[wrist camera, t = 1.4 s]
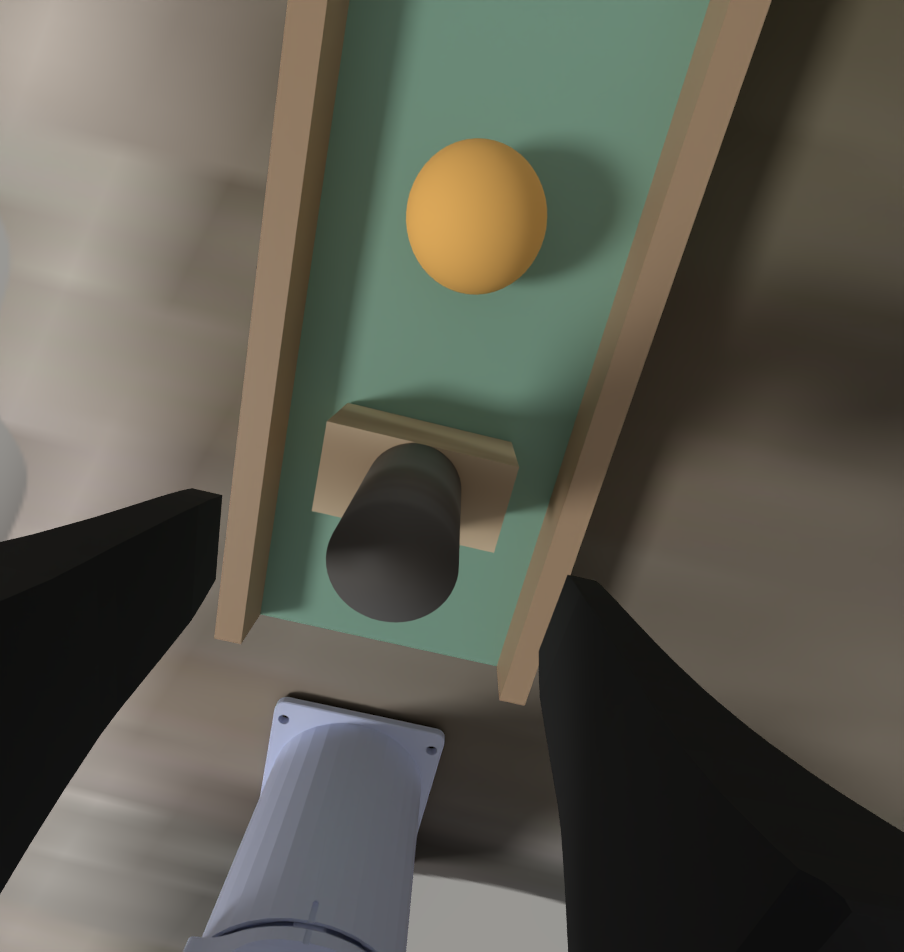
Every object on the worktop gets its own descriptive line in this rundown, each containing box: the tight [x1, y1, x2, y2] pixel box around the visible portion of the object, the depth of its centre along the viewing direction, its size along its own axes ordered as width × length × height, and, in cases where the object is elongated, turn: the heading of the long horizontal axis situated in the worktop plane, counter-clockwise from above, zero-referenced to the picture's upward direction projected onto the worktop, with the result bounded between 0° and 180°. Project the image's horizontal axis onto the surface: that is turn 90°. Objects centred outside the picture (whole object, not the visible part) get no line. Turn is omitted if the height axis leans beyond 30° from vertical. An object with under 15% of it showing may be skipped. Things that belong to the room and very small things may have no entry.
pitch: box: [214, 0, 772, 706], centre depth 15 cm, size 32×12×8 cm, turn 166°
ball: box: [406, 138, 547, 295], centre depth 15 cm, size 4×4×4 cm
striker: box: [312, 403, 519, 623], centre depth 16 cm, size 3×6×8 cm, turn 77°
